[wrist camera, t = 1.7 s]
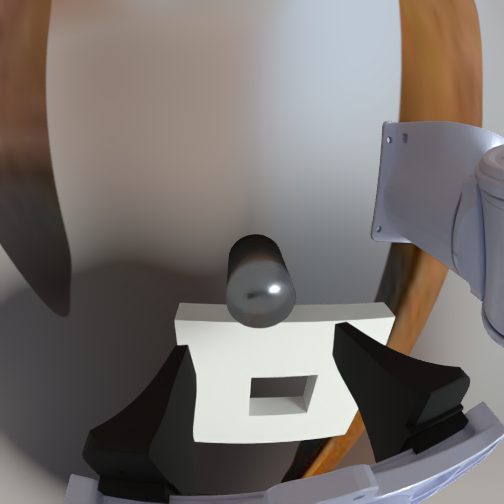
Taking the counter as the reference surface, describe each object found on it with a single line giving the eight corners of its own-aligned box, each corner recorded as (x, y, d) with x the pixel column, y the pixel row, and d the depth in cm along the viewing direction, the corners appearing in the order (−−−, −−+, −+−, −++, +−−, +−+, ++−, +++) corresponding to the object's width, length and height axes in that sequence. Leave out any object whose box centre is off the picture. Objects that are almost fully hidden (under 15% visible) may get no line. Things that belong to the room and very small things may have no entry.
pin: (229, 233, 21) (226, 267, 15) (283, 235, 21) (299, 268, 15) (228, 282, 22) (225, 328, 17) (279, 283, 22) (291, 328, 17)
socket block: (179, 302, 23) (174, 319, 20) (383, 302, 24) (395, 316, 21) (196, 425, 29) (194, 441, 27) (340, 419, 30) (344, 434, 28)
